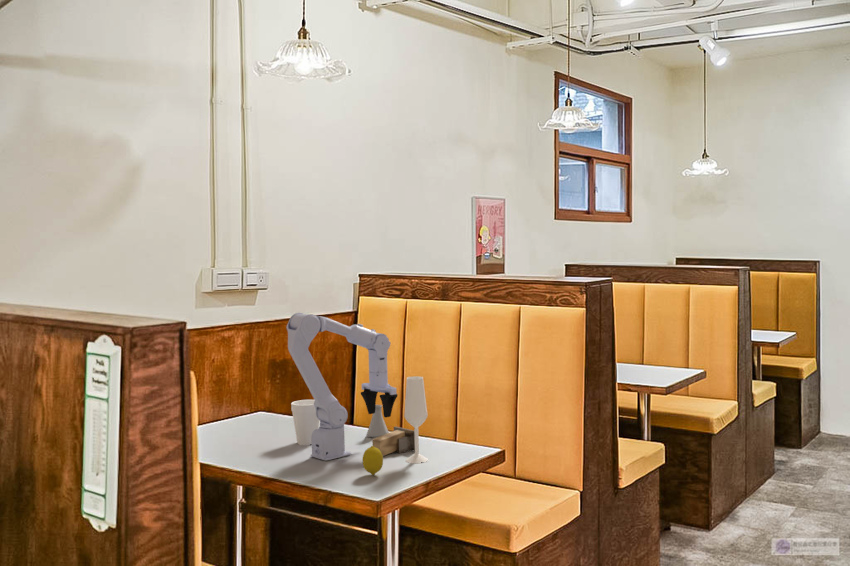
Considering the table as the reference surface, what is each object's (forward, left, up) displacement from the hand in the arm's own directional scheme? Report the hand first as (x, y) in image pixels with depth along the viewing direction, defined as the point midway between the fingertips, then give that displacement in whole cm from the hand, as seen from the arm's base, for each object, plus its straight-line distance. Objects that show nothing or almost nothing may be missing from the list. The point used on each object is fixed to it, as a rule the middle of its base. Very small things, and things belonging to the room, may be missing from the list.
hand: (379, 415), depth 241 cm
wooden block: (-2, -8, -9) cm, 12 cm away
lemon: (-21, -22, -10) cm, 32 cm away
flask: (+9, +12, -10) cm, 18 cm away
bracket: (+1, -8, -10) cm, 12 cm away
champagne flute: (-3, -20, -10) cm, 23 cm away
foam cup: (-12, +22, -10) cm, 27 cm away
